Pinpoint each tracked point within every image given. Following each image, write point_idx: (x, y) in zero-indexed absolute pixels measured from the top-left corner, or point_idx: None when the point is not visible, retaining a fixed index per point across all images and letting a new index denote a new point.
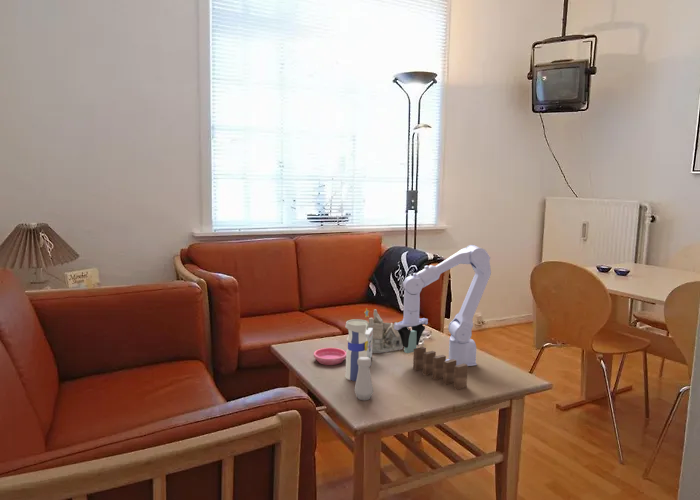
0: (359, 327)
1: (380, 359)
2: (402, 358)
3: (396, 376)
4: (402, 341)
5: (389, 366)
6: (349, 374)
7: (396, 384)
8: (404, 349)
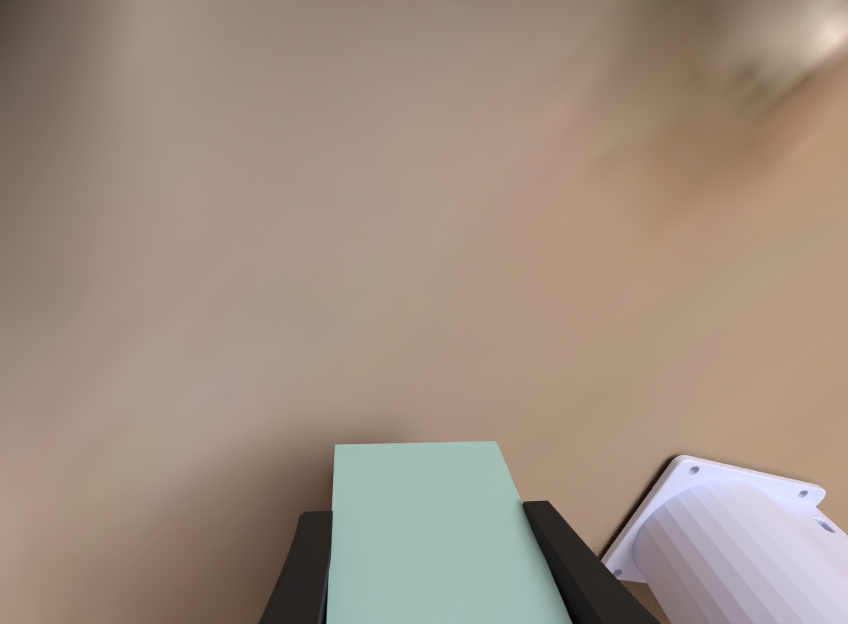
0: None
1: (208, 33)
2: (473, 196)
3: (95, 502)
4: (281, 595)
5: (175, 297)
6: None
7: (4, 602)
8: (334, 475)
